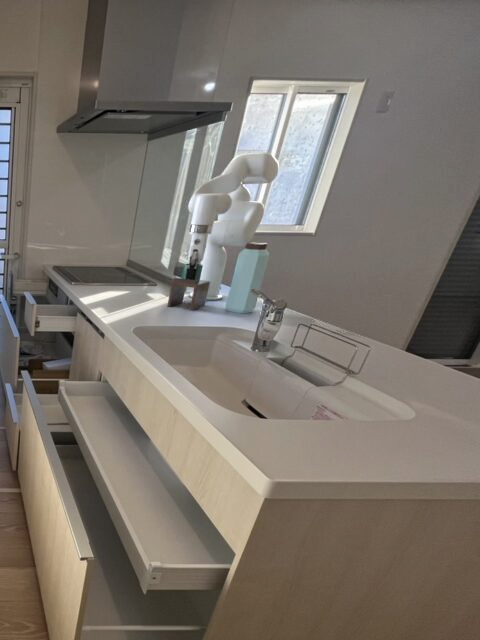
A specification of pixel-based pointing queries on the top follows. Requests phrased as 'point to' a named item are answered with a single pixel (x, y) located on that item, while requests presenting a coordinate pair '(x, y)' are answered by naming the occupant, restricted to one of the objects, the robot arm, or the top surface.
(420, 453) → the top surface
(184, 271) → the pot
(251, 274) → the water bottle
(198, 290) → the shelf
